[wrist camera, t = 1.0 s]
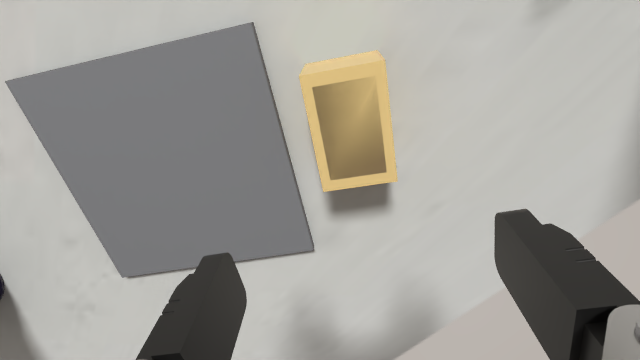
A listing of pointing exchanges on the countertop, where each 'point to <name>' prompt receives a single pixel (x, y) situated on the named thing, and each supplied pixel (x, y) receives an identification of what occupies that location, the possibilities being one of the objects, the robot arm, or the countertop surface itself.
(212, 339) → the robot arm
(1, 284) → the storage jar
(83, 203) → the mat
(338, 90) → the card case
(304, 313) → the countertop surface
